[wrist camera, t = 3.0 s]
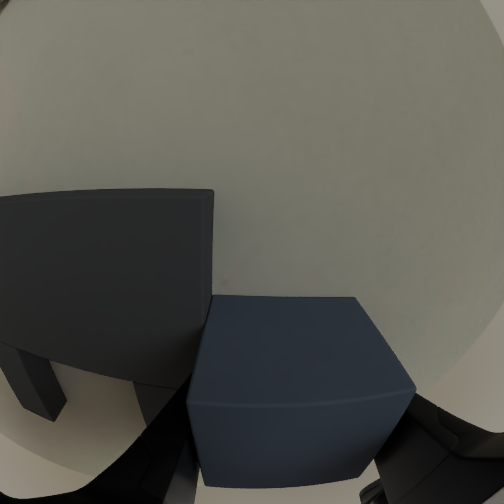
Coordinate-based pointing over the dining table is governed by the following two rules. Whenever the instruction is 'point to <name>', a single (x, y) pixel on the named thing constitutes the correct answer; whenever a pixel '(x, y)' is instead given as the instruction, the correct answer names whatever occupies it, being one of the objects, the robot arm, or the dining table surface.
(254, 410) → the navy rounded cube
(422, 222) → the dining table surface
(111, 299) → the black arch block
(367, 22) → the dining table surface
